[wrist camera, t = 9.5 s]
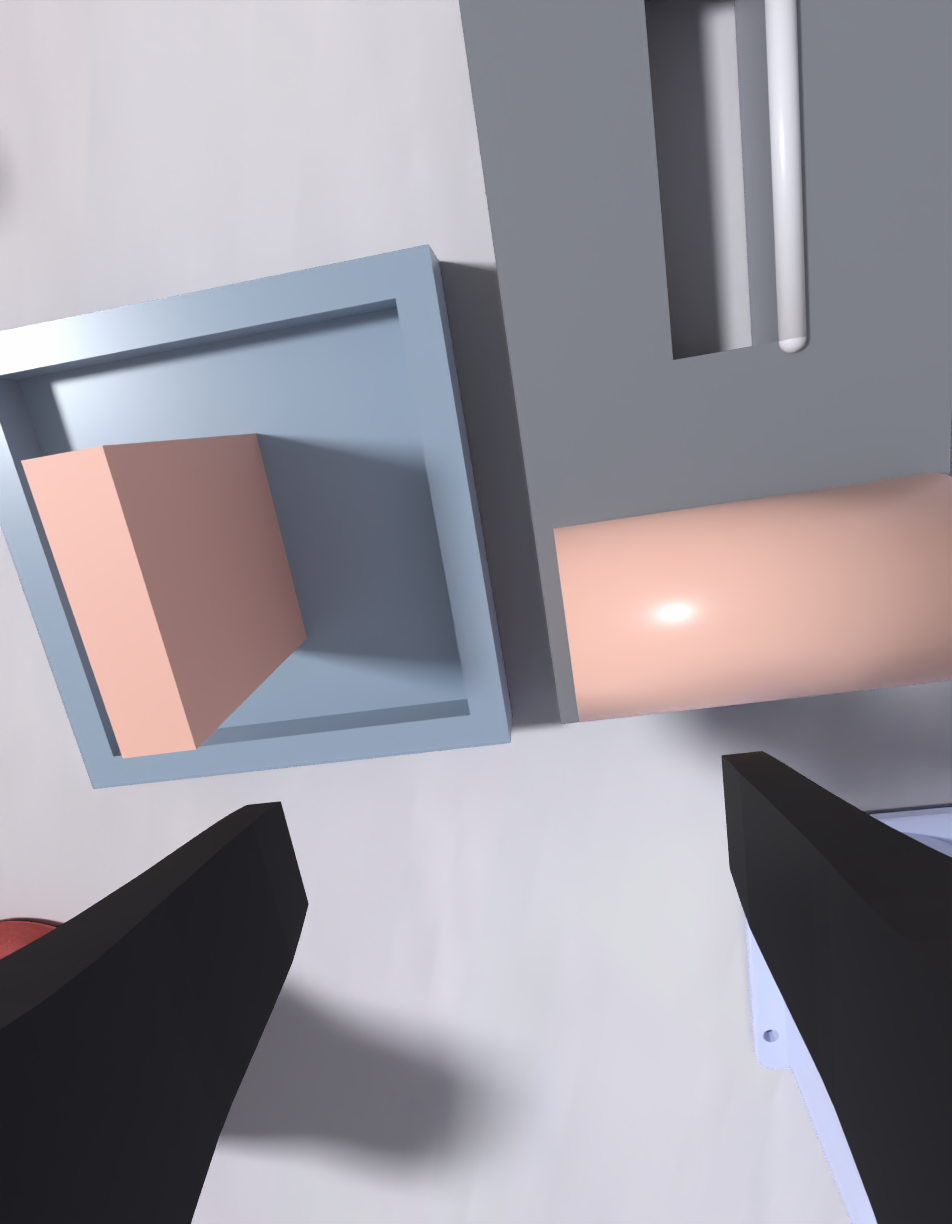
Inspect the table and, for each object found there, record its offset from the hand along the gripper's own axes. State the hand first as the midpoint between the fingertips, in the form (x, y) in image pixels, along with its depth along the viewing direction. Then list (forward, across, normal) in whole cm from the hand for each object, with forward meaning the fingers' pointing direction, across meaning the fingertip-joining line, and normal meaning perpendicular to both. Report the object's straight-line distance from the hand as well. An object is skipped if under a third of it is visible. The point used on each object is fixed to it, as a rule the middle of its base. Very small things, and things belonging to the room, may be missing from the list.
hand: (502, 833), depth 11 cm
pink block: (+9, +7, -4) cm, 12 cm away
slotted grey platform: (+10, -6, -7) cm, 14 cm away
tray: (+10, +7, -4) cm, 13 cm away
